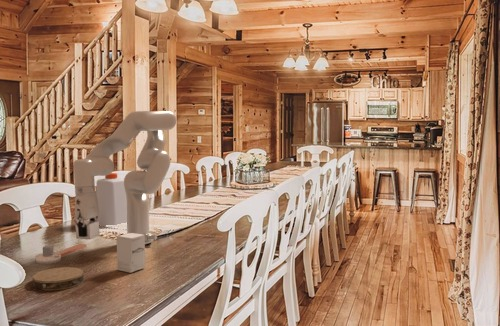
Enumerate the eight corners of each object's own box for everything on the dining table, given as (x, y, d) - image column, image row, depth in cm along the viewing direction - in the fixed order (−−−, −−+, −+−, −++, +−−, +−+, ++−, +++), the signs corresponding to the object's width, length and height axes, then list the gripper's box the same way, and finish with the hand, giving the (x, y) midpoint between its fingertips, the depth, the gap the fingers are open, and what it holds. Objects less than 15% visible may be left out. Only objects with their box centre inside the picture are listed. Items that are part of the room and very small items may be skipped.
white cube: (99, 235, 199) (98, 220, 198) (90, 239, 193) (89, 224, 192) (86, 234, 201) (85, 220, 200) (76, 238, 195) (75, 223, 194)
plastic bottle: (91, 227, 255) (89, 173, 253) (114, 222, 267) (113, 171, 265) (110, 231, 246) (109, 175, 244) (133, 226, 259) (132, 173, 257)
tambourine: (48, 274, 174) (48, 266, 174) (91, 276, 172) (91, 267, 172) (23, 289, 158) (22, 280, 158) (70, 291, 156) (69, 282, 156)
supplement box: (131, 273, 175) (130, 238, 174) (116, 270, 179) (115, 235, 178) (145, 268, 181) (145, 234, 180) (131, 265, 185) (130, 232, 184)
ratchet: (92, 248, 210) (91, 235, 209) (50, 265, 184) (50, 250, 184) (74, 247, 212) (73, 233, 212) (30, 263, 187) (30, 248, 186)
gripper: (79, 194, 186) (83, 240, 188) (105, 186, 202) (108, 229, 204) (63, 193, 188) (66, 239, 190) (89, 186, 204) (92, 228, 206)
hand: (88, 233), depth 197 cm, fingers closed on white cube, 6 cm apart
